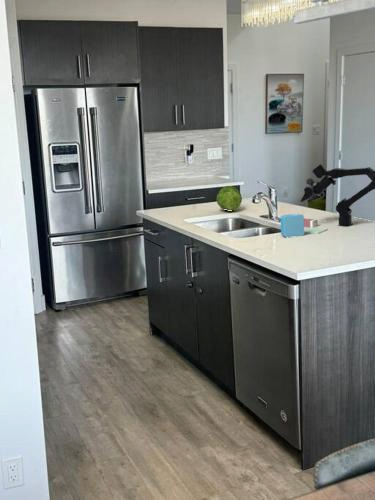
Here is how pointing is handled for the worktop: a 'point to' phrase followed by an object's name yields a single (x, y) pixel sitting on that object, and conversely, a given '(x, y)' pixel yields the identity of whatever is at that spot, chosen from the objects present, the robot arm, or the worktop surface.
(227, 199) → the lettuce
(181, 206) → the worktop surface
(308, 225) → the card deck
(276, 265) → the worktop surface
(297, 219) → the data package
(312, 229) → the mat
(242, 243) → the worktop surface
